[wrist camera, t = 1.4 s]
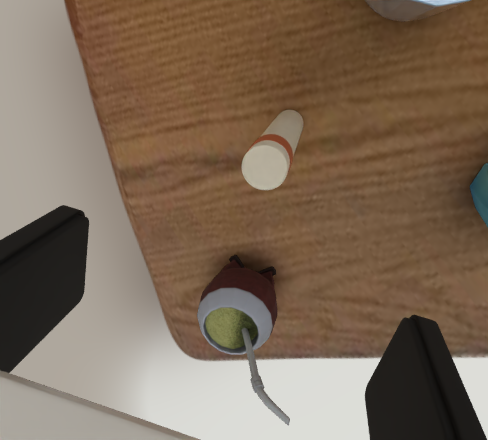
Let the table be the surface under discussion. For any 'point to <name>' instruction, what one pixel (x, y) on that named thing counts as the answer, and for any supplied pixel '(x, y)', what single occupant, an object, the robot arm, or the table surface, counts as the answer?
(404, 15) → the tumbler
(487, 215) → the cup
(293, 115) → the beige cylinder rod
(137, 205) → the table surface
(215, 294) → the mate gourd
